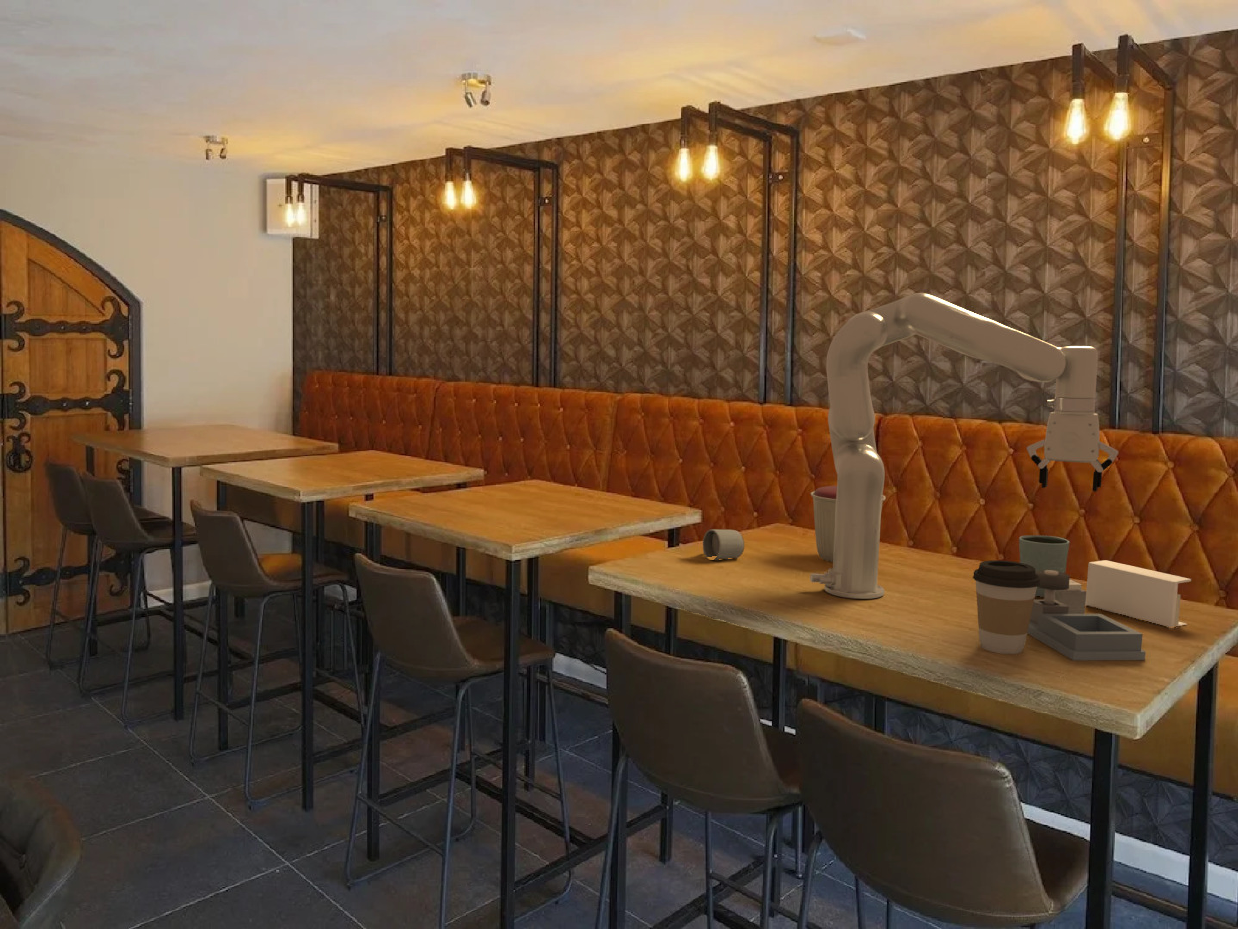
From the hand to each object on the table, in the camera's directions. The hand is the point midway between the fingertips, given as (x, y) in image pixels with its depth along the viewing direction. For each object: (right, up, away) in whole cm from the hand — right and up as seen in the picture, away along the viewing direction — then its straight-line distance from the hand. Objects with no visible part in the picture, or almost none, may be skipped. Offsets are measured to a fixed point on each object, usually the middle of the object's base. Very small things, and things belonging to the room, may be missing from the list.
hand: (1069, 488), depth 209 cm
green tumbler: (-1, -23, +13) cm, 27 cm away
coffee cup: (-25, -28, -29) cm, 47 cm away
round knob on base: (-12, -22, -18) cm, 31 cm away
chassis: (-10, -27, -24) cm, 38 cm away
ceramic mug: (-69, -18, +41) cm, 82 cm away
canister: (-37, -19, +41) cm, 59 cm away
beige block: (-4, -26, -7) cm, 27 cm away
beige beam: (+11, -26, -4) cm, 28 cm away
